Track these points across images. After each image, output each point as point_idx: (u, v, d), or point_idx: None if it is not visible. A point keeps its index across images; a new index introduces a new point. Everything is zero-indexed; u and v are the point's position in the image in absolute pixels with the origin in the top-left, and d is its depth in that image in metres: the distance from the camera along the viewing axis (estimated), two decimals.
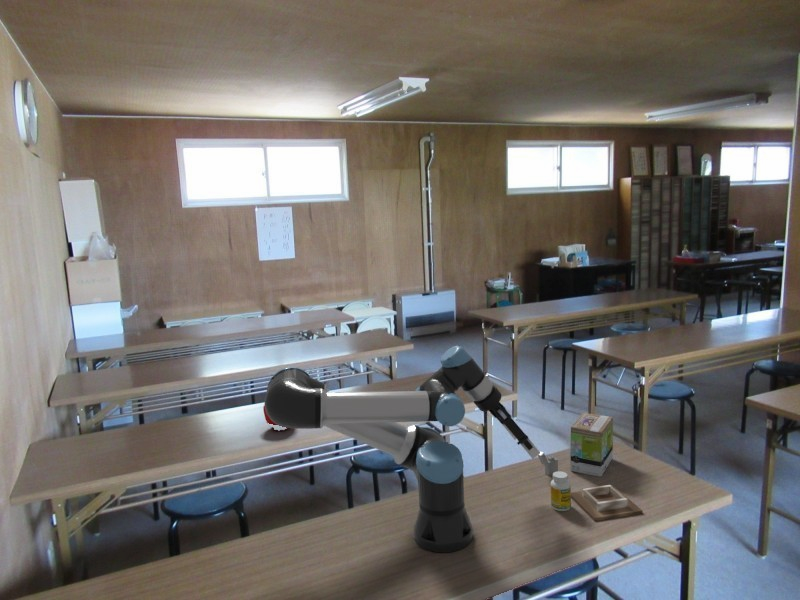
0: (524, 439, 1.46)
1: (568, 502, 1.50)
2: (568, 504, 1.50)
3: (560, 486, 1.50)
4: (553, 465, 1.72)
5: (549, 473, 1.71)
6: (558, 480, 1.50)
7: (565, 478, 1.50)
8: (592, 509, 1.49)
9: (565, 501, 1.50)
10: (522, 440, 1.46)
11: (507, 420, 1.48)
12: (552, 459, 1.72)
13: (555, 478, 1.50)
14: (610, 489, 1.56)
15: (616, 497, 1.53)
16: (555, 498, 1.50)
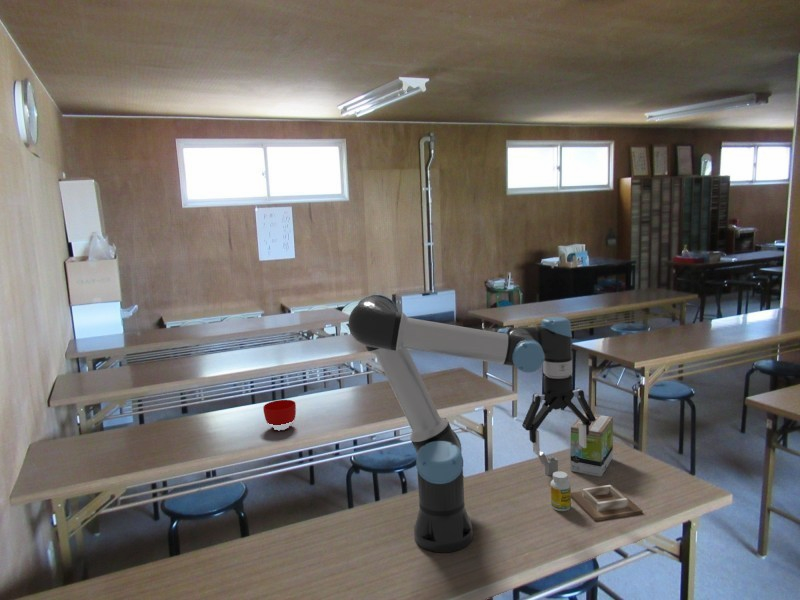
0: (524, 426, 1.48)
1: (568, 502, 1.50)
2: (568, 504, 1.50)
3: (560, 486, 1.50)
4: (553, 465, 1.72)
5: (549, 473, 1.71)
6: (558, 480, 1.50)
7: (565, 478, 1.50)
8: (592, 509, 1.49)
9: (565, 501, 1.50)
10: (523, 425, 1.48)
11: (533, 404, 1.47)
12: (552, 459, 1.72)
13: (555, 478, 1.50)
14: (610, 489, 1.56)
15: (616, 497, 1.53)
16: (555, 498, 1.50)
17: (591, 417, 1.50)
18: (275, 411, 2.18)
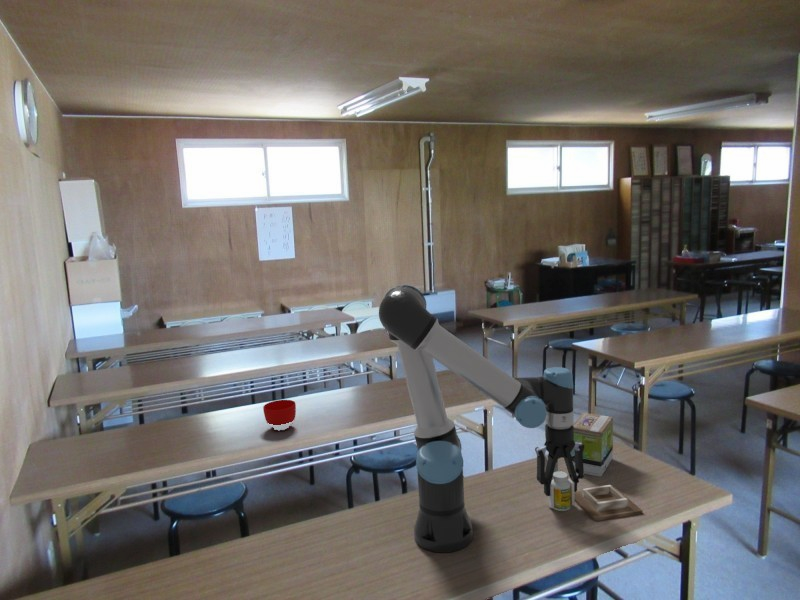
0: (539, 481, 1.51)
1: (568, 502, 1.50)
2: (568, 504, 1.50)
3: (560, 486, 1.50)
4: None
5: None
6: (558, 480, 1.50)
7: (565, 478, 1.50)
8: (592, 509, 1.49)
9: (565, 501, 1.50)
10: (538, 479, 1.51)
11: (538, 458, 1.50)
12: None
13: (555, 478, 1.50)
14: (610, 489, 1.56)
15: (616, 497, 1.53)
16: (555, 498, 1.50)
17: (580, 474, 1.51)
18: (275, 411, 2.18)
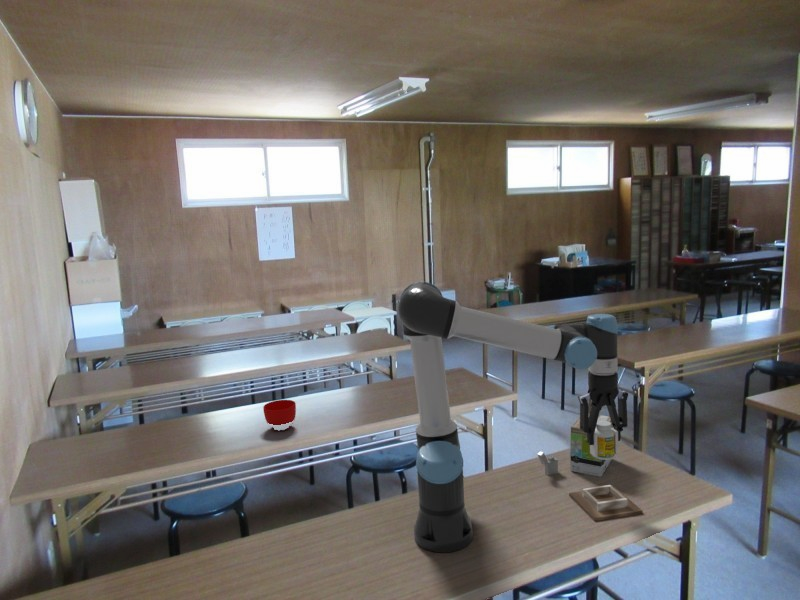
0: (582, 429, 1.48)
1: (612, 451, 1.48)
2: (612, 453, 1.48)
3: (604, 434, 1.47)
4: (553, 465, 1.72)
5: (549, 473, 1.71)
6: (601, 428, 1.48)
7: (609, 426, 1.48)
8: (592, 509, 1.49)
9: (609, 449, 1.48)
10: (581, 427, 1.49)
11: (582, 406, 1.48)
12: (552, 459, 1.72)
13: (599, 426, 1.48)
14: (610, 489, 1.56)
15: (616, 497, 1.53)
16: (599, 447, 1.48)
17: (624, 422, 1.49)
18: (275, 411, 2.18)
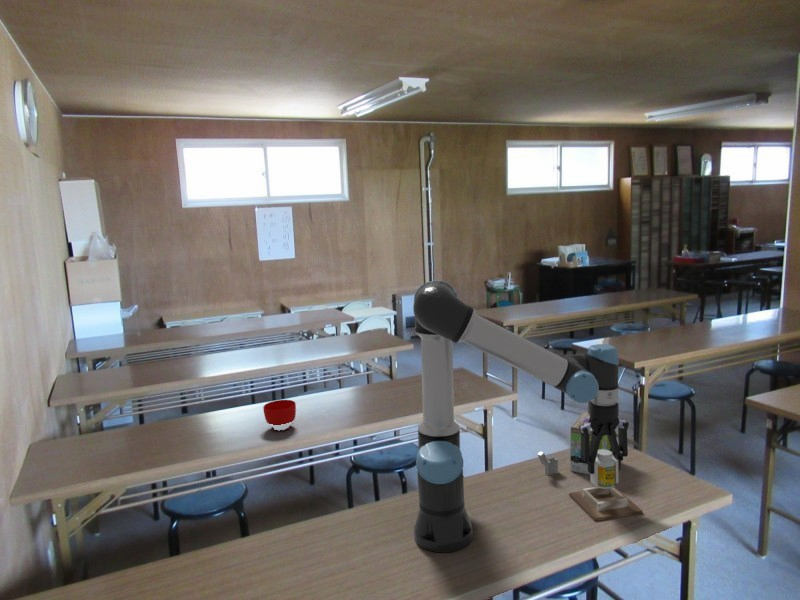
0: (583, 459, 1.50)
1: (612, 480, 1.50)
2: (612, 482, 1.50)
3: (604, 464, 1.49)
4: (553, 465, 1.72)
5: (549, 473, 1.71)
6: (602, 458, 1.49)
7: (609, 456, 1.49)
8: (592, 509, 1.49)
9: (610, 479, 1.49)
10: (582, 456, 1.50)
11: (583, 436, 1.49)
12: (552, 459, 1.72)
13: (599, 456, 1.50)
14: (610, 489, 1.56)
15: (616, 497, 1.53)
16: (600, 476, 1.50)
17: (624, 451, 1.50)
18: (275, 411, 2.18)
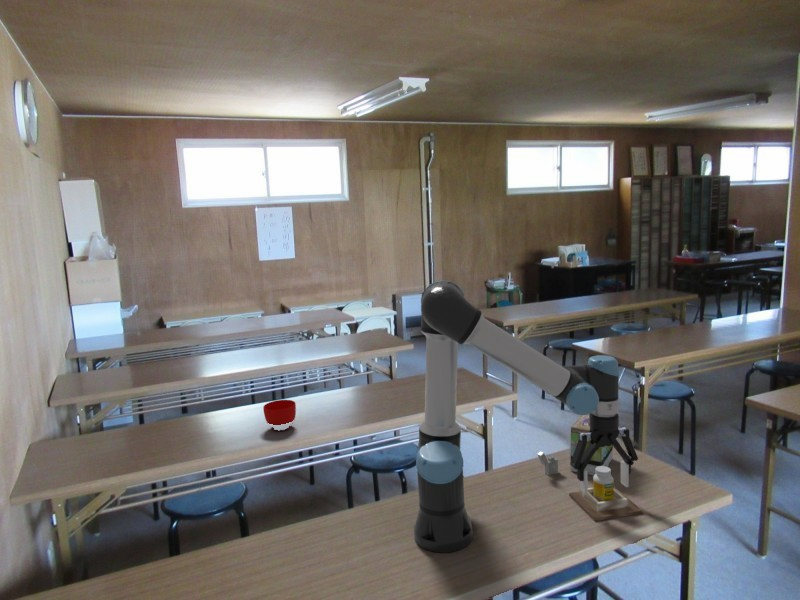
0: (572, 465, 1.49)
1: (612, 497, 1.50)
2: (611, 499, 1.50)
3: (603, 481, 1.49)
4: (553, 465, 1.72)
5: (549, 473, 1.71)
6: (601, 475, 1.50)
7: (608, 473, 1.50)
8: (592, 509, 1.49)
9: (609, 496, 1.50)
10: (571, 463, 1.50)
11: (580, 442, 1.49)
12: (552, 459, 1.72)
13: (598, 473, 1.50)
14: None
15: (616, 497, 1.53)
16: (599, 493, 1.50)
17: (634, 456, 1.51)
18: (275, 411, 2.18)
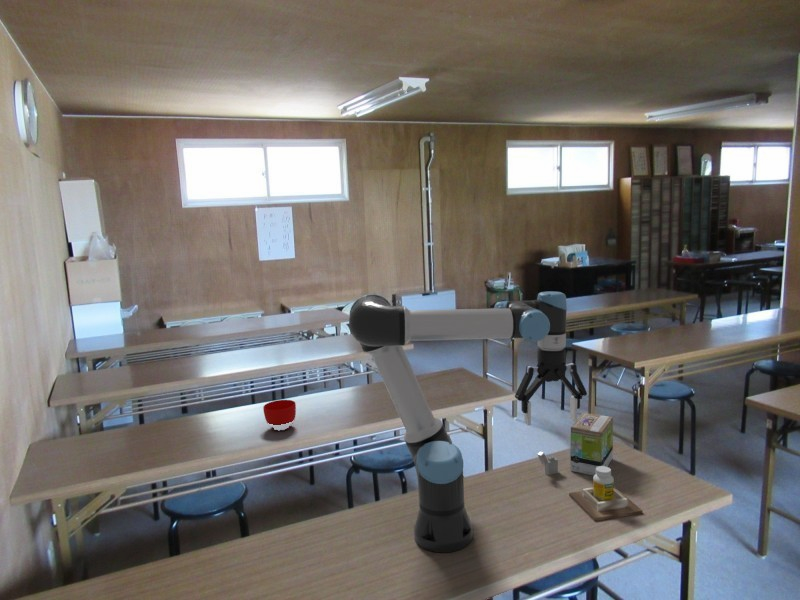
0: (516, 397, 1.51)
1: (612, 497, 1.50)
2: (611, 499, 1.50)
3: (603, 481, 1.49)
4: (553, 465, 1.72)
5: (549, 473, 1.71)
6: (601, 475, 1.50)
7: (609, 473, 1.50)
8: (592, 509, 1.49)
9: (609, 496, 1.50)
10: (516, 395, 1.52)
11: (526, 375, 1.51)
12: (552, 459, 1.72)
13: (599, 473, 1.50)
14: None
15: (616, 497, 1.53)
16: (599, 493, 1.50)
17: (583, 391, 1.53)
18: (275, 411, 2.18)
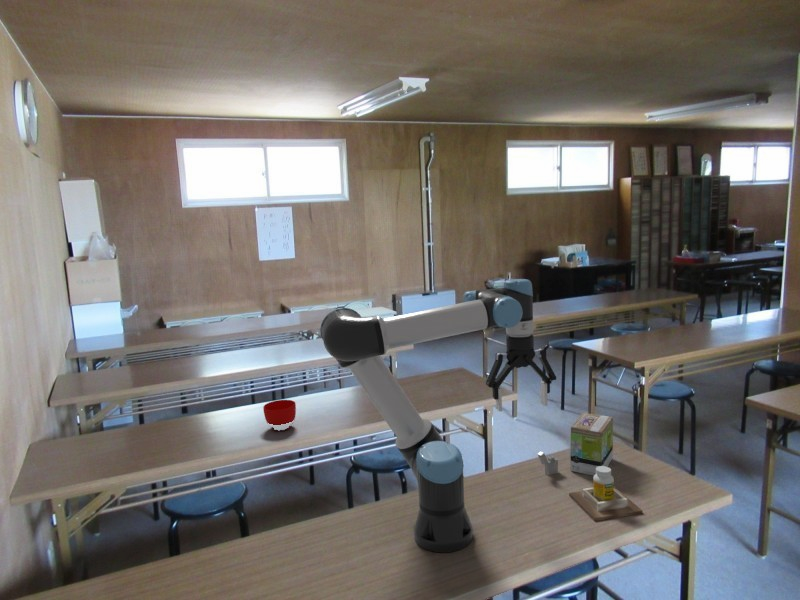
0: (487, 384, 1.54)
1: (612, 497, 1.50)
2: (612, 499, 1.50)
3: (603, 481, 1.49)
4: (553, 465, 1.72)
5: (549, 473, 1.71)
6: (601, 475, 1.50)
7: (609, 473, 1.50)
8: (592, 509, 1.49)
9: (609, 496, 1.50)
10: (486, 382, 1.54)
11: (496, 362, 1.54)
12: (552, 459, 1.72)
13: (599, 473, 1.50)
14: None
15: (616, 497, 1.53)
16: (599, 493, 1.50)
17: (552, 376, 1.56)
18: (275, 411, 2.18)
